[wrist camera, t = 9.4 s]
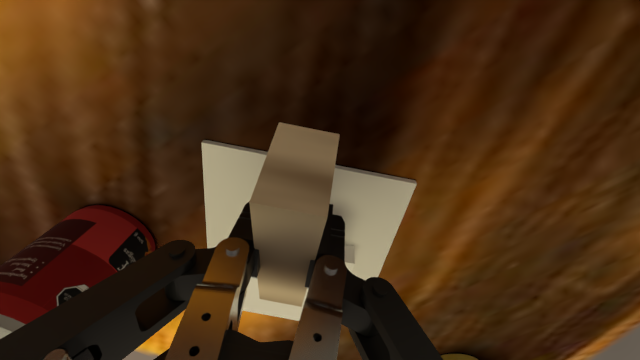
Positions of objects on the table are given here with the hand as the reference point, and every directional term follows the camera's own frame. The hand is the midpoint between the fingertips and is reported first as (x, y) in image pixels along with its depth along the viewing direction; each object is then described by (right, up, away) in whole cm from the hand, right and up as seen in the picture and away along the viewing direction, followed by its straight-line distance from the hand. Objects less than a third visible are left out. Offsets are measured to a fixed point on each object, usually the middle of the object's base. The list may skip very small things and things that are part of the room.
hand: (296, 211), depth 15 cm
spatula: (0, -1, +3) cm, 3 cm away
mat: (-1, -4, +11) cm, 12 cm away
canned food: (-18, -4, +13) cm, 22 cm away
